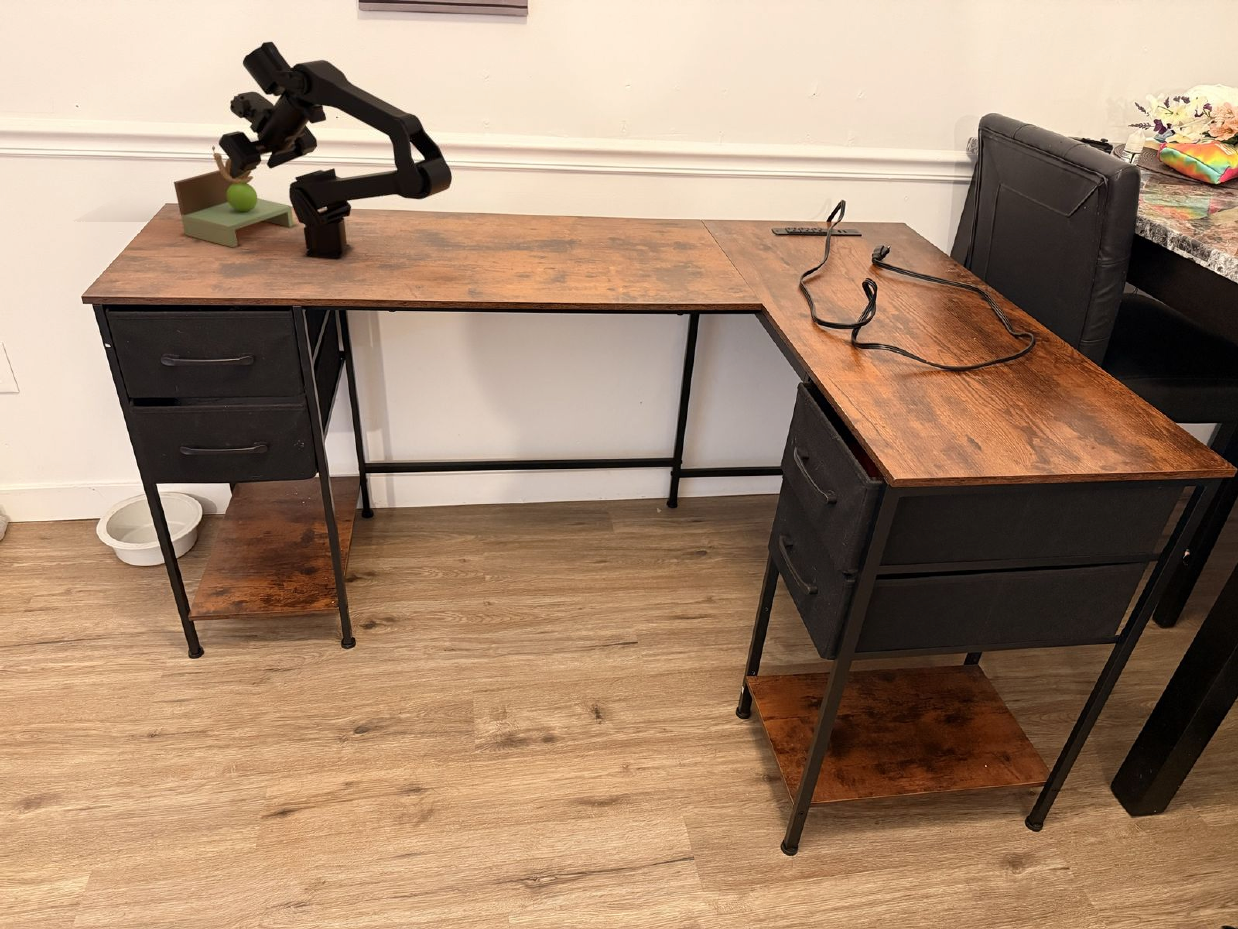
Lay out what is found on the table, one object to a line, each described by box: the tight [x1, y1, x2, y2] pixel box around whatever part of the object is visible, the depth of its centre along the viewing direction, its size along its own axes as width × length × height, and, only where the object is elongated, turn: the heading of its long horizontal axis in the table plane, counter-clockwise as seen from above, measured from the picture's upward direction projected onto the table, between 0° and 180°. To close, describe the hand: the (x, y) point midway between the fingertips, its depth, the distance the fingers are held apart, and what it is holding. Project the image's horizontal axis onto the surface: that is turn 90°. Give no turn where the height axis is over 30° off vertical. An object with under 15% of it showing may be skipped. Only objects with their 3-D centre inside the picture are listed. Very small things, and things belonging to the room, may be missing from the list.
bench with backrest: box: [173, 169, 295, 248], centre depth 164 cm, size 12×16×10 cm
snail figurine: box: [211, 145, 258, 212], centre depth 161 cm, size 5×6×12 cm
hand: (250, 171), depth 159 cm, fingers open, 9 cm apart
